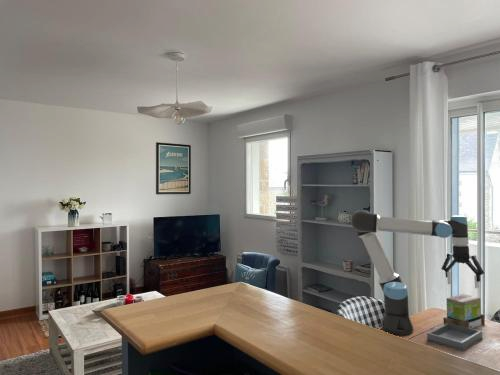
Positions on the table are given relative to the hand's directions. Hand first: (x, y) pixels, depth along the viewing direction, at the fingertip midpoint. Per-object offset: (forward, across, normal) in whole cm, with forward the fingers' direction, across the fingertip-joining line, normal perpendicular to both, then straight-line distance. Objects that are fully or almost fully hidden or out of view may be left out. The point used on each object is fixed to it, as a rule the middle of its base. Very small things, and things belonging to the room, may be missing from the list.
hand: (463, 285), depth 197 cm
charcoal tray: (+21, -5, +22) cm, 31 cm away
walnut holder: (+21, 0, 0) cm, 21 cm away
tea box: (+21, 0, 0) cm, 21 cm away
